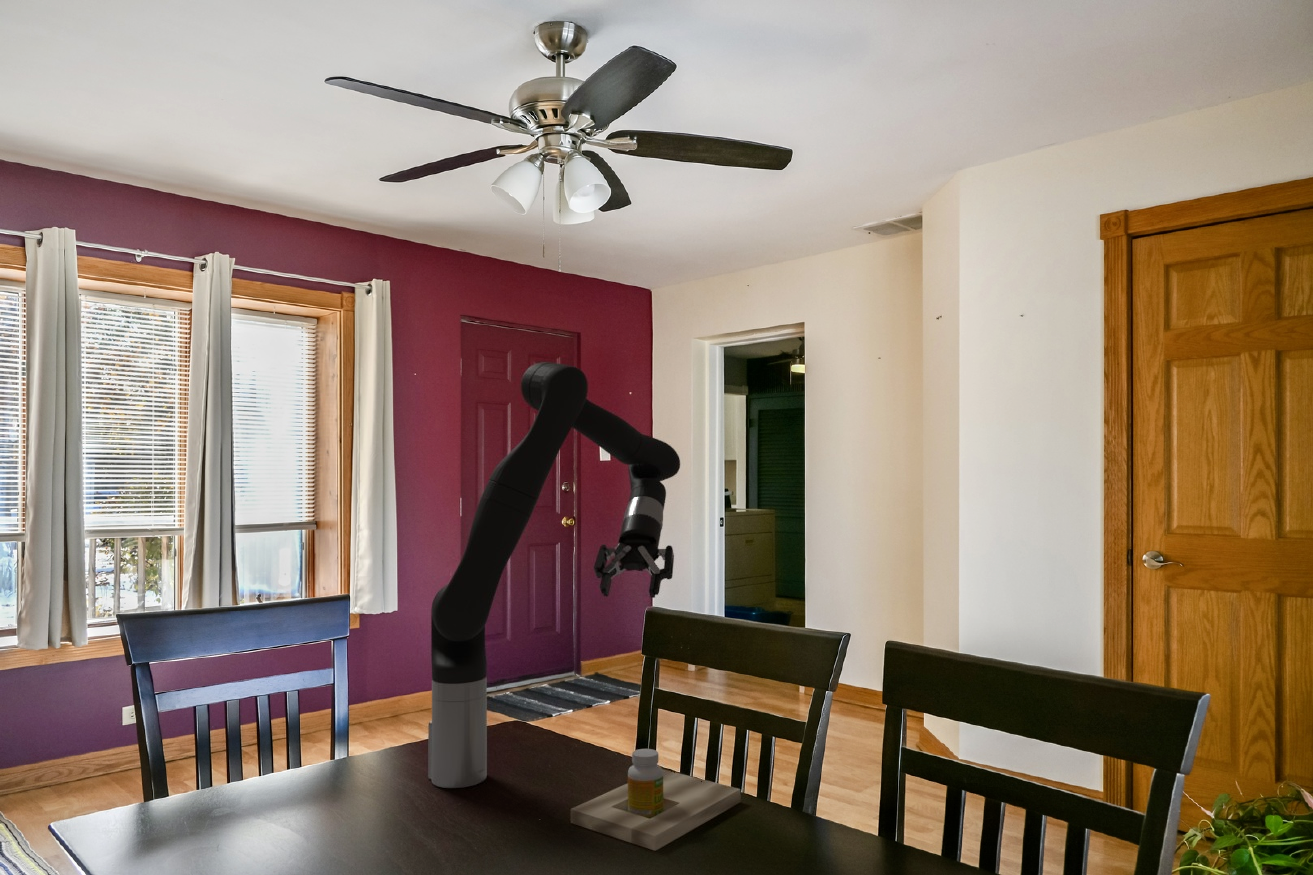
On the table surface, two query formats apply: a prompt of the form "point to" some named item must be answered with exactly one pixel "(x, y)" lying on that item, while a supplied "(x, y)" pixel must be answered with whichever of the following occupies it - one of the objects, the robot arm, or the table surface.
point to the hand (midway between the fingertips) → (628, 594)
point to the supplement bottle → (645, 784)
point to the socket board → (682, 813)
